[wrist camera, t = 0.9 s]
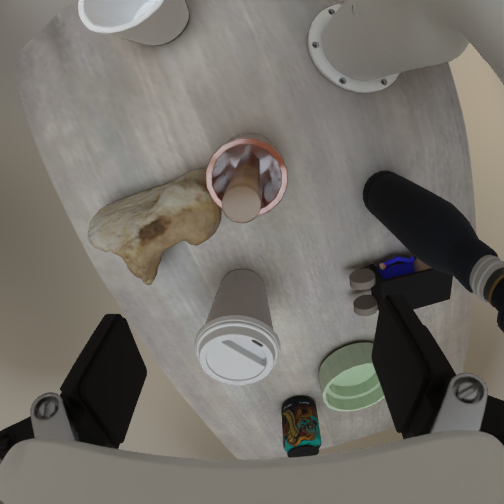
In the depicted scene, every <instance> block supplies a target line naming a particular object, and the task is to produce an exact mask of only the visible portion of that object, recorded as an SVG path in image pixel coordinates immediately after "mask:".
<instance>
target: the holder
mask: <svg viewBox="0 0 504 504" xmlns="http://www.w3.org/2000/svg"><path fill="white" fill-rule="evenodd" d="M245 154H253V155H255V156H257V157H258V159H259V161H260V177H261V210H260V212H259V214H258V215H257V216H259V215H261V214H264V213H267V212H269V211H270V210H271V209H272V208H273V207H275V206H276V205H277V204H278V203H279V202H280V201H281V199H282V197H283V195H284V193H285V190H286V188H287V175H288V172H287V168H286V166H285V163H284V161H283V158H282V156H281V154H280V153H279V151H278V150H277V148H276V147H275V146H274V144H273V143H272V142H271V141H270V140H269V139H267V138H265V137H263V136H261V135H258V134H253V133H246V134H241V135H238V136H236V137H233V138H231V139H230V140H229V141H227V142H226V143H225V144H223V145H222V146H221V147H220V148H219V149H218V150H217V151H216V152H215V153H214V154H213V155H212V157H211V159H210V162H209V164H208V167H207V169H206V186H207V189H208V191H209V193H210V195H211V198H212V200H213V201H214V202H215V203H216V204H217V205H218V206H219V207H220V208H221V209H222V199H223V196H224V194H225V192H226V189H227V187H228V185H229V183H230V180H231V178H232V176H233V174H234V171H235V169H236V167H237V165H238V162H239V160H240V158H241V157H242V156H243V155H245ZM222 210H223V209H222Z"/></svg>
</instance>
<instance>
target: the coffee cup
mask: <svg viewBox="0 0 504 504" xmlns="http://www.w3.org/2000/svg"><path fill="white" fill-rule="evenodd" d="M195 351H196V354H197V357H198V360H199V361H200V364H201V366H202V368H203V369H204V371H205V372H206V373H207V374H208V375H209V376H211V377H212V378H214V379H216V380H218V381H220V382H223V383H226V384H231V385H247V384H251V383H255V382H257V381H259V380H261V379H263V378H264V377H266V376H267V375H268V374H269V372H270V371H271V369H272V368H273V367H274V365H275V364H276V362H277V360H278V357H279V354H280V341H279V338H278V336H277V335H276V333H275V332H274V331H273V326H272V321H271V316H270V311H269V306H268V301H267V295H266V290H265V285H264V282H263V280H262V278H261V277H260V276H259V275H258V274H256V273H255V272H253V271H250V270H247V269H237V270H234V271H231V272H229V273H228V274H227V275H226V276H225V277H224V278H223V280H222V282H221V284H220V287H219V289H218V292H217V295H216V297H215V300H214V303H213V305H212V308H211V310H210V313H209V316H208V318H207V321H206V323H205V325H204V326H203V327H202V328H201V329H200V330H199V332H198V333H197V335H196V338H195Z"/></svg>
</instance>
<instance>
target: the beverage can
mask: <svg viewBox="0 0 504 504" xmlns="http://www.w3.org/2000/svg"><path fill="white" fill-rule="evenodd" d="M281 410H282V428H283V447H284V450H285V451H286V452H287V455H288V457H289V458H293V457H304V456H313V455H317V454H318V453H319V447H320V446H321V436H320V429H319V423H318V416H317V409H316V404H315V402H314V401H313V400H311V399H309V398H307V397H295V398H292V399H289V400H288V401H286V402H285V403H284V404H283V406H282V408H281Z"/></svg>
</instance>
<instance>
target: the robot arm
mask: <svg viewBox="0 0 504 504" xmlns="http://www.w3.org/2000/svg"><path fill="white" fill-rule="evenodd" d="M329 13H332V15H331V14H329ZM469 42H470V43H471V44H472V45H473V46H474V47H475V49H476V50H477V51H478V52H479V53H480V55H481V56H482V57H483V59H485V61H487V62H488V64H489V65H490V66H491V68H492V69H493V70H494V72H495V73H496V74H497V76H498V77H499V78H500V80H501V81H502V83H503V84H504V0H345V1H344V3H343V4H336V5H333V6H330V7H328V8H326V9H324V10H323V11H321V12H320V13H319V14H318V15H317V16H316V18H315V19H314V20H313V22H312V24H311V26H310V28H309V32H308V49H309V54H310V56H311V58H312V61H313V63H314V64H315V66H316V67H317V69H318V70H319V71H320V72H321V73H322V75H323V76H324V77H325V78H327V79H328V80H329V81H330V82H332V83H333V84H335V85H337V86H338V87H340V88H343V89H345V90H348V91H352V92H357V93H370V92H376V91H379V90H382V89H384V88H386V87H388V86H389V85H391V84H392V83H393V82H394V81H395V80H396V78H397V77H398V76H399V74H400V73H401V72H406V71H410V70H415V69H419V68H424V67H429V66H434V65H439V64H443V63H446V62H449V61H451V60H453V59H455V58H457V57H458V56H459V55H460V54H461V53H462V52H463V51H464V50H465V48H466V47H467V45H468V44H469ZM313 45H316V48H314V47H313ZM340 79H341V80H342V81H343V83H340ZM381 81H383V84H382V83H381ZM371 358H372V363H373V366H374V369H375V371H376V374H377V377H378V380H379V382H380V385H381V388H382V391H383V393H384V396H385V399H386V402H387V405H388V408H389V410H390V413H391V416H392V419H393V422H394V425H395V428H396V431H397V432H398V433H400V432H401V433H402V436H403V440H399V441H395V442H391V443H386V444H381V445H376V446H371V447H366V448H360V449H355V450H349V451H343V452H337V453H330V454H323V455H313V456H304V457H293V458H278V459H257V460H217V459H195V458H181V457H170V456H160V455H152V454H145V453H137V452H131V451H125V450H119V449H118V448H119V445H120V443H123V441H124V439H125V436H126V433H127V430H128V427H129V424H130V421H131V418H132V415H133V412H134V409H135V407H136V404H137V401H138V398H139V395H140V393H141V389H142V387H143V384H144V381H145V379H146V375H147V370H146V366H145V364H144V362H143V359H142V357H141V355H140V352H139V350H138V348H137V345H136V343H135V341H134V338H133V335H132V333H131V331H130V328H129V325H128V323H127V320H126V319H125V318H123V317H122V316H121V315H120V314H106V315H105V316H104V317H103V319H102V320H101V322H100V324H99V325H98V326H97V328H96V330H95V331H94V333H93V334H92V336H91V337H90V339H89V341H88V342H87V344H86V345H85V347H84V349H83V350H82V352H81V354H80V355H79V357H78V358H77V360H76V362H75V363H74V365H73V367H72V369H71V370H70V372H69V374H68V376H67V378H66V379H65V381H64V382H63V384H62V386H61V388H60V390H61V391H62V393H61V394H60V396H59V395H58V394H56V393H45V394H43V395H41V396H39V397H38V398H37V399H36V400H35V401H34V402H33V404H32V406H31V409H30V414H31V416H30V417H28V418H26V419H24V420H22V421H20V422H18V423H16V424H14V425H12V426H10V427H8V428H6V429H3V430H2V431H0V504H504V401H503V400H500V399H497V398H494V397H491V396H489V395H488V388H487V385H486V383H485V382H484V381H483V379H481V378H480V377H479V376H477V375H475V374H472V373H460V374H458V375H456V374H455V372H454V370H453V369H452V367H451V365H450V364H449V362H448V360H447V359H446V357H445V355H444V354H443V352H442V350H441V349H440V347H439V346H438V344H437V342H436V341H435V339H434V338H433V336H432V334H431V333H430V331H429V330H428V328H427V327H426V326H424V325H423V324H422V323H421V321H420V320H419V318H418V317H417V315H416V314H415V312H414V311H413V309H412V308H411V306H410V305H409V303H408V302H407V300H406V299H405V297H404V296H403V295H402V294H401V293H398V294H391V295H386V297H385V299H384V300H381V302H380V308H379V315H378V321H377V327H376V333H375V338H374V344H373V349H372V355H371ZM411 437H412V438H411Z"/></svg>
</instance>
